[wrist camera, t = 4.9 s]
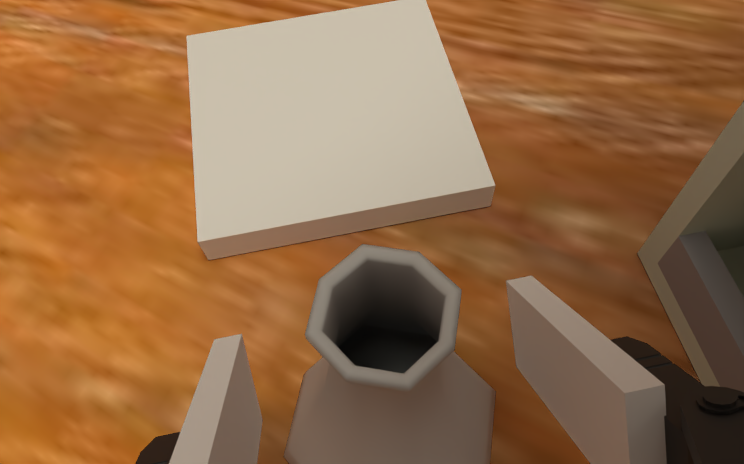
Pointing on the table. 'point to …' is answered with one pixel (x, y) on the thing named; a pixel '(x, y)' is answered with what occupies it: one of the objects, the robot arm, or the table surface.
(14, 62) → the table surface
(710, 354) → the dispenser box
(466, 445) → the flask
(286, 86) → the plate
